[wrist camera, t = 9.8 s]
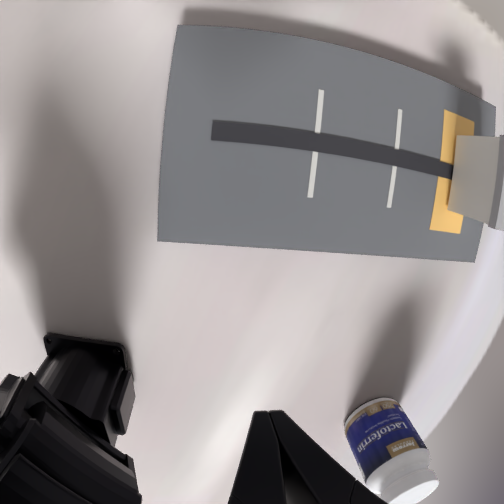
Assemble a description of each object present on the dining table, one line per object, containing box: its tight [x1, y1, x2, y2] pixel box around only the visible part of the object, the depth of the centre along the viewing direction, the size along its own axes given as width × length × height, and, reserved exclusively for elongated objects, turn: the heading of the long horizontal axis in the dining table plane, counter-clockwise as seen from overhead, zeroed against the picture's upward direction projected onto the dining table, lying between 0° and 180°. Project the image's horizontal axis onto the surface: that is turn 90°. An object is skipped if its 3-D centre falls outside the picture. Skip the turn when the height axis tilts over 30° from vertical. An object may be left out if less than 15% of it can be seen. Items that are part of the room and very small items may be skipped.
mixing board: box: [157, 25, 496, 263], centre depth 17 cm, size 22×12×2 cm, turn 84°
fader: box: [447, 135, 504, 231], centre depth 15 cm, size 3×5×5 cm, turn 174°
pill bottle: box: [344, 398, 439, 504], centre depth 20 cm, size 6×6×10 cm
